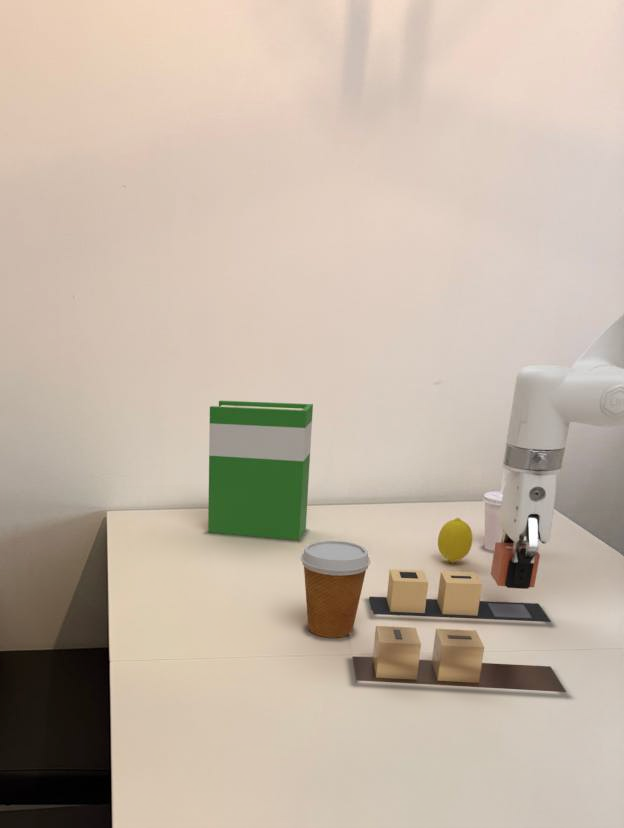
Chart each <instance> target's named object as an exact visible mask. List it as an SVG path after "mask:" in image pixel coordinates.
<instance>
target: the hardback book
mask: <svg viewBox="0 0 624 828" xmlns="http://www.w3.org/2000/svg"><path fill="white" fill-rule="evenodd" d="M313 410H314V404H313V403H291V402H266V401H243V400H242V401H241V400H218V406H215V405H211V406H209V439H208V441H209V442H208V443H209V444H208V508H207V509H208V511H207V513H208V514H207V515H208V517H207V518H208V519H207V532H208V533H213V534H223V535H236V536H246V537H247V536H248V537H257V538H270V539H280V540H281V539H282V540H289V541H291V540H292V541H300V539H301V538H302V536H303V535H304V533H305V531H306V529H307V512H308V497H309V480H310V462H311V447H312V430H313V429H312V427H313V412H314V411H313Z"/></svg>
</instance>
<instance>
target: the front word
mask: <svg viewBox="0 0 624 828" xmlns="http://www.w3.org/2000/svg"><path fill="white" fill-rule="evenodd" d="M434 633H435V634H434V640H433V641H434V642H433V648H432V657H431V659H420V655H421V646H422V642H421V641H420V637H419V633H418V631H417V627H408V626H386V625H375V632H374V641H373V653H372V657H371V656H352V665H353V671H354V678H355V683H356V684H357V682H358V681H359V682H374V683H378V682H379V683H392V684H393V683H394V684H410V685H411V684H412V685H429V686H430V685H431V686H446V687H447V686H449V687H463V688H464V687H467V688H483V689H502V690H517V691H518V690H522V691H536V692H537V691H538V692H555V693H557V692H558V693H559V692H560V693H567V690H566V689H565V687H564V686H563V684H562V682H561V680H559V677H558V676H557V675H556V673H555V671H554V670H553V668H552V666H550V665H549V666H548V665H530V664H529V665H528V664H510V663H492V662H491V663H490V662H483V657H484V653H485V652H484V651H485V645H484V643H483V642H482V639H481V638H480V636H479V633H478V632H477V630H473V629H472V630H471V629H470V630H469V629H452V628H451V629H447V628H435V632H434Z"/></svg>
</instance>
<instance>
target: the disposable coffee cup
mask: <svg viewBox="0 0 624 828" xmlns="http://www.w3.org/2000/svg"><path fill="white" fill-rule="evenodd" d="M300 561H301V563H302V566H303V571H304V572H303V573H304V583H305V584H304V587H305V597H306V598H305V602H306V615H307V628H308V631H309V632H310V633H312V634H314V635H316V636H319V637H323V638H330V639H332V638H334V639H336V638H337V639H338V638H343V637H347V636H350V633H352V632H353V630H354V627H355V621H356V617H357V613H358V608H359V603H360V599H361V595H362V590H363V587H364V586H363V585H364V581H365V576H366V572H367V570H368V568H369V566H370V564H371V558H370V557H369V551H368V549H367V548H365V547H364V546H363V545H360V544H358V543H355V542H350V541H345V540H344V541H343V540H321V541H315V542H314V541H313V542H311V543H309V544H307V545H306V546H305V547H304V550H303V552H302V553H301V555H300Z"/></svg>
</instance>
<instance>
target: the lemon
mask: <svg viewBox="0 0 624 828" xmlns="http://www.w3.org/2000/svg"><path fill="white" fill-rule="evenodd" d="M472 545H473V531H472V529H471V526H469V524H468V523H467V522H466V521H464V520H462V519H461V517H460V518H459V517H455V518H454V519H451V520H449V521H447V522H445V524H444V525H443V526H442V527H441V528H440V531H439V534H438V538H437V549H438V551H439V554H440V555H441V556H442V557H443V558H445V559H446V560H448V562H450V563H451V564H454V563H456V562H457V561H458V560H462V559H464V558H465V557H466V556H467V555H468V554H469V553H470V551H471V549H472Z"/></svg>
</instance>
